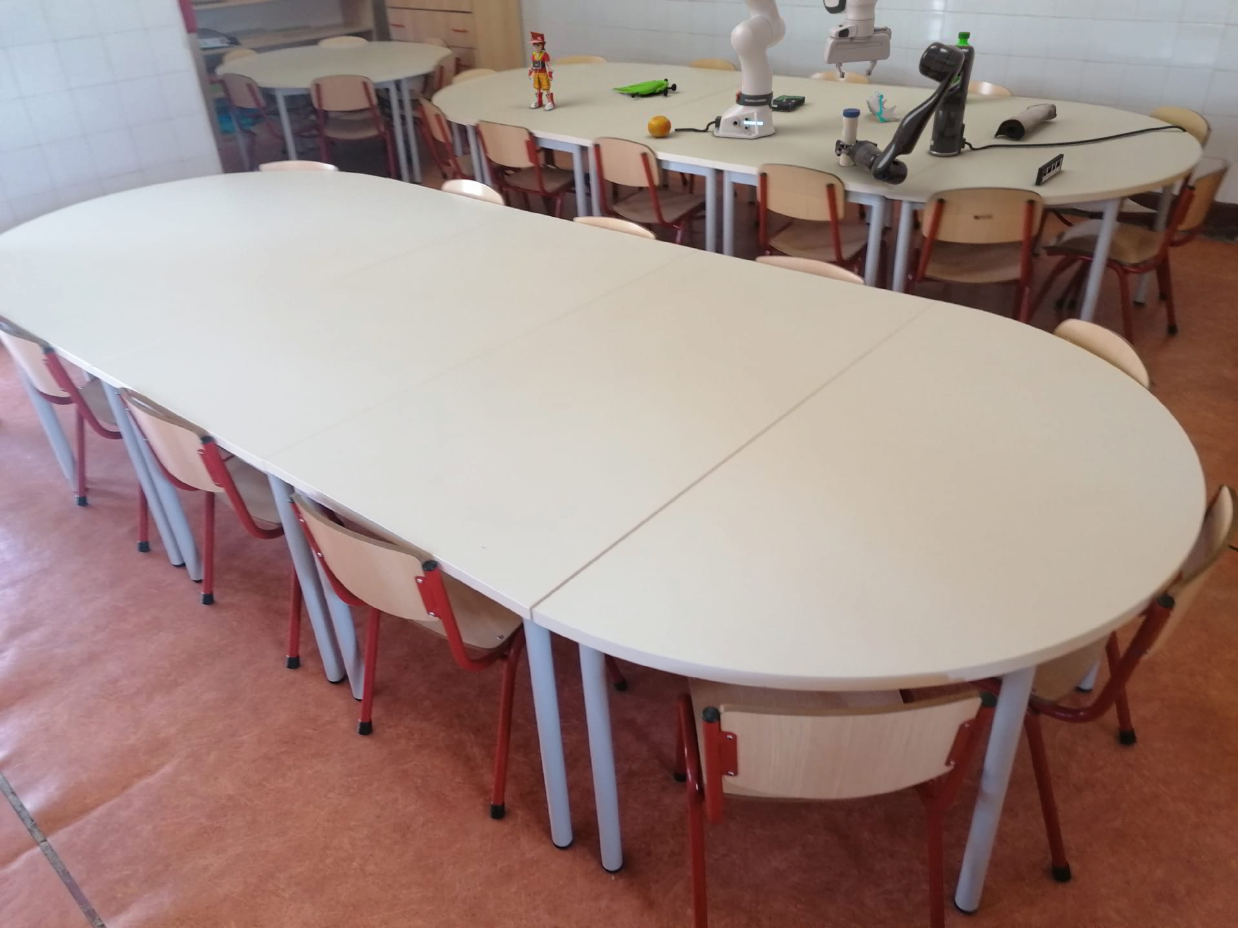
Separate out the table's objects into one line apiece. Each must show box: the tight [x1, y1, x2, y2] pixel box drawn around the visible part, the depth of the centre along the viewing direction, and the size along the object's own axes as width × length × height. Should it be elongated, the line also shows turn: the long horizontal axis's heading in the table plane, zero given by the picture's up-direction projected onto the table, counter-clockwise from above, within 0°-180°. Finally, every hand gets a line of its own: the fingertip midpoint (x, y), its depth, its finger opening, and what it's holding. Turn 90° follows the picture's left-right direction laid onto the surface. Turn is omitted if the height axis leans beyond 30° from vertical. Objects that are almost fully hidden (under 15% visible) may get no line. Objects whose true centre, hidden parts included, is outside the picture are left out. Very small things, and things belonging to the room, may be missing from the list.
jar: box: [839, 116, 860, 167], centre depth 292 cm, size 5×5×17 cm
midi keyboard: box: [1035, 153, 1065, 186], centre depth 273 cm, size 18×1×5 cm, turn 138°
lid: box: [842, 107, 861, 117], centre depth 287 cm, size 5×5×2 cm
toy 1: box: [527, 31, 556, 111], centre depth 374 cm, size 12×9×30 cm
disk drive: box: [772, 94, 806, 112], centre depth 362 cm, size 10×3×15 cm
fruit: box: [647, 115, 672, 138], centre depth 334 cm, size 8×8×8 cm
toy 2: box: [612, 78, 677, 99], centre depth 396 cm, size 28×5×30 cm
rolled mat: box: [993, 103, 1058, 141], centre depth 317 cm, size 30×9×10 cm
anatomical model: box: [865, 90, 901, 123], centre depth 339 cm, size 15×10×10 cm
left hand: (854, 77), depth 281 cm, fingers open, 7 cm apart
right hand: (845, 142), depth 295 cm, fingers closed on jar, 4 cm apart
